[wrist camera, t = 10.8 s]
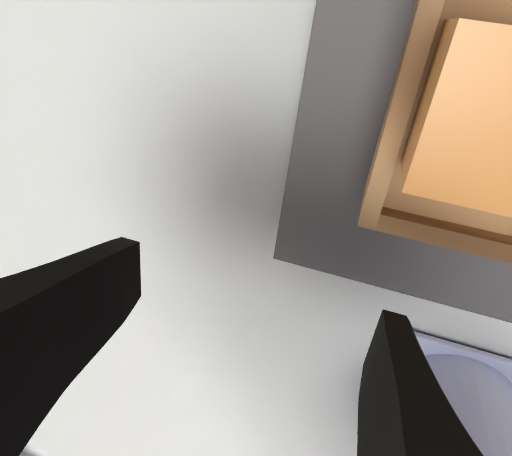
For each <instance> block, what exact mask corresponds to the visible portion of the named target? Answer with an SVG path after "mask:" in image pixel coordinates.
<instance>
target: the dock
mask: <svg viewBox="0 0 512 456" xmlns="http://www.w3.org/2000/svg"><path fill="white" fill-rule="evenodd" d="M415 1H416V0H317V1H316V7H315V13H314V19H313V25H312V31H311V37H310V43H309V49H308V55H307V61H306V67H305V73H304V78H303V84H302V90H301V96H300V102H299V108H298V114H297V120H296V126H295V132H294V138H293V144H292V150H291V156H290V162H289V168H288V174H287V180H286V186H285V192H284V198H283V204H282V210H281V216H280V222H279V227H278V233H277V239H276V245H275V251H274V257H273V258H274V259H278V260H281V261H285V262H289V263H293V264H296V265H300V266H304V267H307V268H311V269H315V270H318V271H322V272H326V273H329V274H333V275H337V276H341V277H344V278H348V279H352V280H355V281H359V282H363V283H366V284H370V285H374V286H378V287H381V288H385V289H389V290H392V291H396V292H400V293H403V294H407V295H411V296H414V297H418V298H422V299H426V300H429V301H433V302H437V303H440V304H444V305H448V306H451V307H455V308H459V309H462V310H466V311H470V312H474V313H477V314H481V315H485V316H488V317H492V318H496V319H499V320H503V321H507V322H510V323H512V264H511V263H507V262H503V261H499V260H495V259H491V258H486V257H482V256H478V255H474V254H470V253H466V252H462V251H458V250H454V249H449V248H445V247H441V246H437V245H433V244H429V243H425V242H421V241H417V240H412V239H408V238H404V237H400V236H396V235H392V234H388V233H384V232H380V231H376V230H371V229H367V228H363V227H359V226H357V225H358V220H359V215H360V210H361V204H362V199H363V194H364V189H365V185H366V181H367V177H368V174H369V170H370V166H371V163H372V159H373V155H374V152H375V148H376V144H377V141H378V137H379V133H380V130H381V126H382V122H383V119H384V115H385V111H386V108H387V104H388V100H389V96H390V93H391V89H392V85H393V82H394V78H395V74H396V71H397V67H398V63H399V60H400V56H401V52H402V49H403V45H404V41H405V38H406V34H407V30H408V27H409V23H410V19H411V16H412V12H413V8H414V5H415Z"/></svg>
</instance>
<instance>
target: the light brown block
mask: <svg viewBox="0 0 512 456" xmlns="http://www.w3.org/2000/svg"><path fill="white" fill-rule="evenodd" d="M401 187H402V193H406V194H410V195H415V196H419V197H424V198H428V199H432V200H437V201H441V202H446V203H450V204H454V205H459V206H463V207H467V208H472V209H476V210H481V211H485V212H489V213H494V214H498V215H503V216H507V217H511V218H512V25H506V24H499V23H492V22H484V21H477V20H470V19H463V18H451V19H444V22H443V26H442V29H441V32H440V35H439V38H438V42H437V45H436V48H435V51H434V54H433V57H432V61H431V64H430V67H429V70H428V73H427V77H426V80H425V83H424V86H423V89H422V92H421V96H420V99H419V102H418V105H417V108H416V111H415V115H414V118H413V121H412V124H411V127H410V131H409V134H408V137H407V140H406V143H405V146H404V150H403V153H402V156H401Z"/></svg>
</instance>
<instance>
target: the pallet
mask: <svg viewBox="0 0 512 456" xmlns="http://www.w3.org/2000/svg"><path fill="white" fill-rule="evenodd" d="M451 18H463V19H470V20H477V21H484V22H492V23H499V24H506V25H512V0H416V1H415V5H414V8H413V12H412V16H411V19H410V23H409V27H408V30H407V34H406V38H405V41H404V45H403V49H402V52H401V56H400V60H399V63H398V67H397V71H396V74H395V78H394V82H393V85H392V89H391V93H390V96H389V100H388V104H387V108H386V111H385V115H384V119H383V122H382V126H381V130H380V133H379V137H378V141H377V144H376V148H375V152H374V155H373V159H372V163H371V166H370V170H369V174H368V177H367V181H366V185H365V189H364V194H363V199H362V204H361V210H360V215H359V220H358V225H357V226H359V227H363V228H367V229H371V230H376V231H380V232H384V233H388V234H392V235H396V236H400V237H404V238H408V239H412V240H417V241H421V242H425V243H429V244H433V245H437V246H441V247H445V248H449V249H454V250H458V251H462V252H466V253H470V254H474V255H478V256H482V257H486V258H491V259H495V260H499V261H503V262H507V263H511V264H512V218H511V217H507V216H503V215H498V214H494V213H489V212H485V211H481V210H476V209H472V208H467V207H463V206H459V205H454V204H450V203H446V202H441V201H437V200H432V199H428V198H424V197H419V196H415V195H410V194H406V193H402V187H401V156H402V153H403V150H404V146H405V143H406V140H407V137H408V134H409V131H410V127H411V124H412V121H413V118H414V115H415V111H416V108H417V105H418V102H419V99H420V96H421V92H422V89H423V86H424V83H425V80H426V77H427V73H428V70H429V67H430V64H431V61H432V57H433V54H434V51H435V48H436V45H437V42H438V38H439V35H440V32H441V29H442V26H443V22H444V19H451Z"/></svg>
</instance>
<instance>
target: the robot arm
mask: <svg viewBox="0 0 512 456" xmlns="http://www.w3.org/2000/svg"><path fill="white" fill-rule="evenodd" d="M140 297H141V275H140V242H137V241H134V240H130V239H127V238H123V237H120V238H117V239H114V240H110V241H107V242H105V243H102V244H99V245H96V246H94V247H91V248H88V249H85V250H83V251H80V252H77V253H75V254H72V255H69V256H67V257H64V258H61V259H58V260H56V261H53V262H50V263H47V264H44V265H41V266H38V267H35V268H32V269H29V270H26V271H23V272H20V273H17V274H13V275H10V276H7V277H3V278H0V456H19V455H20V453H21V452H22V450H23V449H24V447H25V446H26V444H27V443H28V442H29V440H30V439H31V437H32V436H33V434H34V433H35V431H36V430H37V428H38V427H39V425H40V424H41V422H42V421H43V420H44V418H45V417H46V415H47V414H48V413H49V411H50V410H51V409H52V407H53V406H54V404H55V403H56V402H57V400H58V399H59V397H60V396H61V395H62V393H63V392H64V391H65V390H66V388H67V387H68V386H69V385H70V383H71V382H72V381H73V380H74V379H75V377H76V376H77V375H78V374H79V373H80V372H81V371H82V370H83V368H84V367H85V366H86V365H87V364H88V363H89V362H90V360H91V359H92V358H93V357H94V356H95V355H96V354H97V353H98V351H99V350H100V349H101V348H102V347H103V346H104V345H105V343H106V342H107V341H108V340H109V339H110V338H111V337H112V335H113V334H114V333H115V332H116V331H117V330H118V328H119V327H120V326H121V325H122V324H123V323H124V321H125V320H126V318H127V317H128V315H129V314H130V312H131V311H132V309H133V308H134V306H135V305H136V303H137V301H138V300H139V298H140ZM357 434H358V444H357V456H512V359H509V358H505V357H502V356H498V355H495V354H491V353H488V352H485V351H481V350H478V349H474V348H471V347H467V346H464V345H460V344H457V343H453V342H450V341H446V340H443V339H439V338H436V337H432V336H429V335H425V334H422V333H418V332H415V331H413V328H412V326H411V324H410V321H409V319H408V318H407V316H405V315H401V314H398V313H394V312H390V311H387V310H382V313H381V316H380V319H379V321H378V324H377V327H376V330H375V333H374V336H373V338H372V341H371V344H370V347H369V350H368V353H367V355H366V358H365V361H364V364H363V371H362V378H361V385H360V392H359V403H358V431H357Z"/></svg>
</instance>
